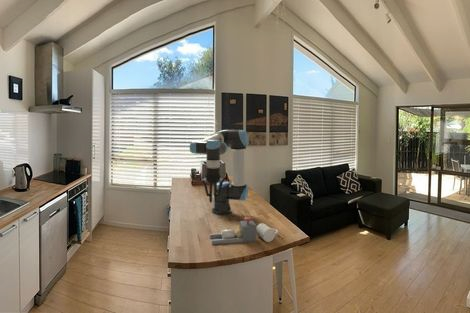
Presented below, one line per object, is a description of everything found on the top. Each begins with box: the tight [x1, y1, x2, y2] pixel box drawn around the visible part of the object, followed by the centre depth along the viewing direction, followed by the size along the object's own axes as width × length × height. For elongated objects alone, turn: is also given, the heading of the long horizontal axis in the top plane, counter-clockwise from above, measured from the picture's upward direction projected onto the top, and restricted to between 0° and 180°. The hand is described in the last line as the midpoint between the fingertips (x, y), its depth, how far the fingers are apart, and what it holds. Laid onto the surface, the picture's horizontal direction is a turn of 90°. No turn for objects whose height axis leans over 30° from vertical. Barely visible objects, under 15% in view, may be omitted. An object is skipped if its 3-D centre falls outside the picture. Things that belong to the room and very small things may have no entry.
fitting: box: [220, 228, 235, 239], centre depth 159 cm, size 6×7×6 cm
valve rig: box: [209, 216, 258, 245], centre depth 159 cm, size 10×26×13 cm, turn 102°
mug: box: [256, 223, 279, 243], centre depth 164 cm, size 12×10×8 cm
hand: (212, 207), depth 156 cm, fingers closed
